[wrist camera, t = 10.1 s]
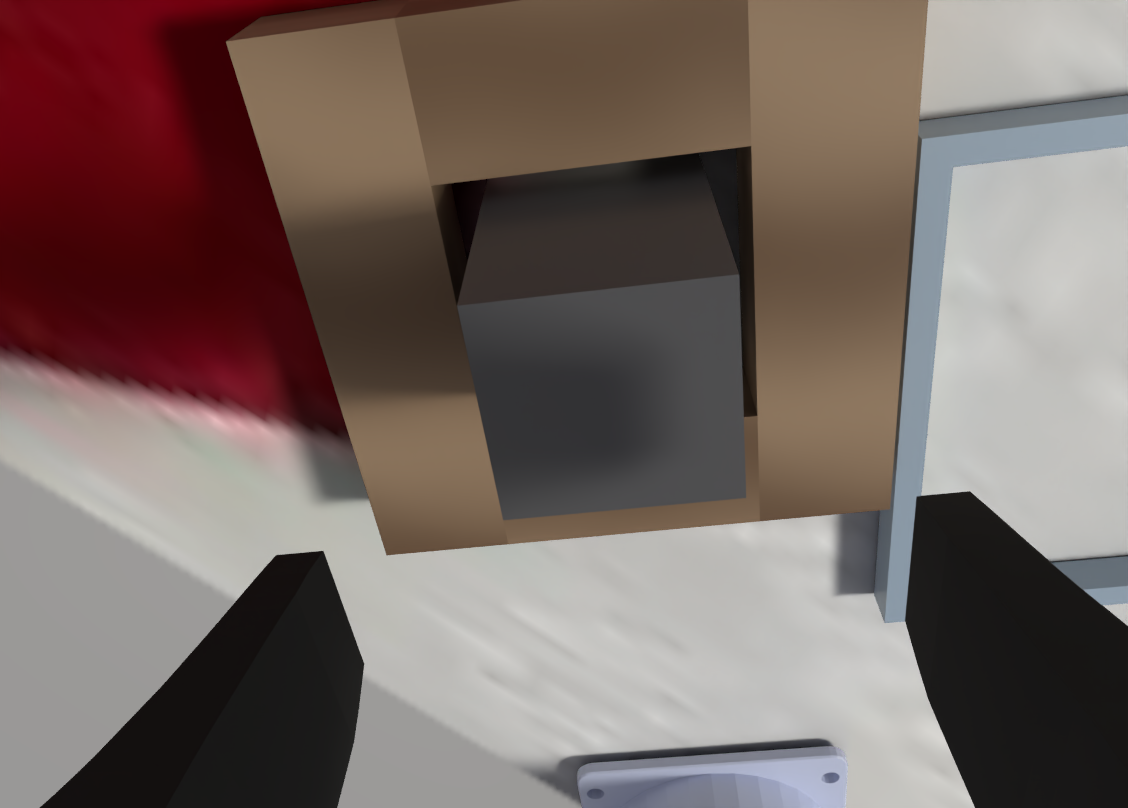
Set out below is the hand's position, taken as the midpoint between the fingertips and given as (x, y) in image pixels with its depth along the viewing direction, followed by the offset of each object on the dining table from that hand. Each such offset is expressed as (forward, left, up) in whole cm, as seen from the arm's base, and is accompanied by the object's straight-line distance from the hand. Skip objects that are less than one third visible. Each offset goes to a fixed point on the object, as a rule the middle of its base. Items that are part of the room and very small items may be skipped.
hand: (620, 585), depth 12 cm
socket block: (0, 0, -9) cm, 9 cm away
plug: (0, 0, -10) cm, 10 cm away
